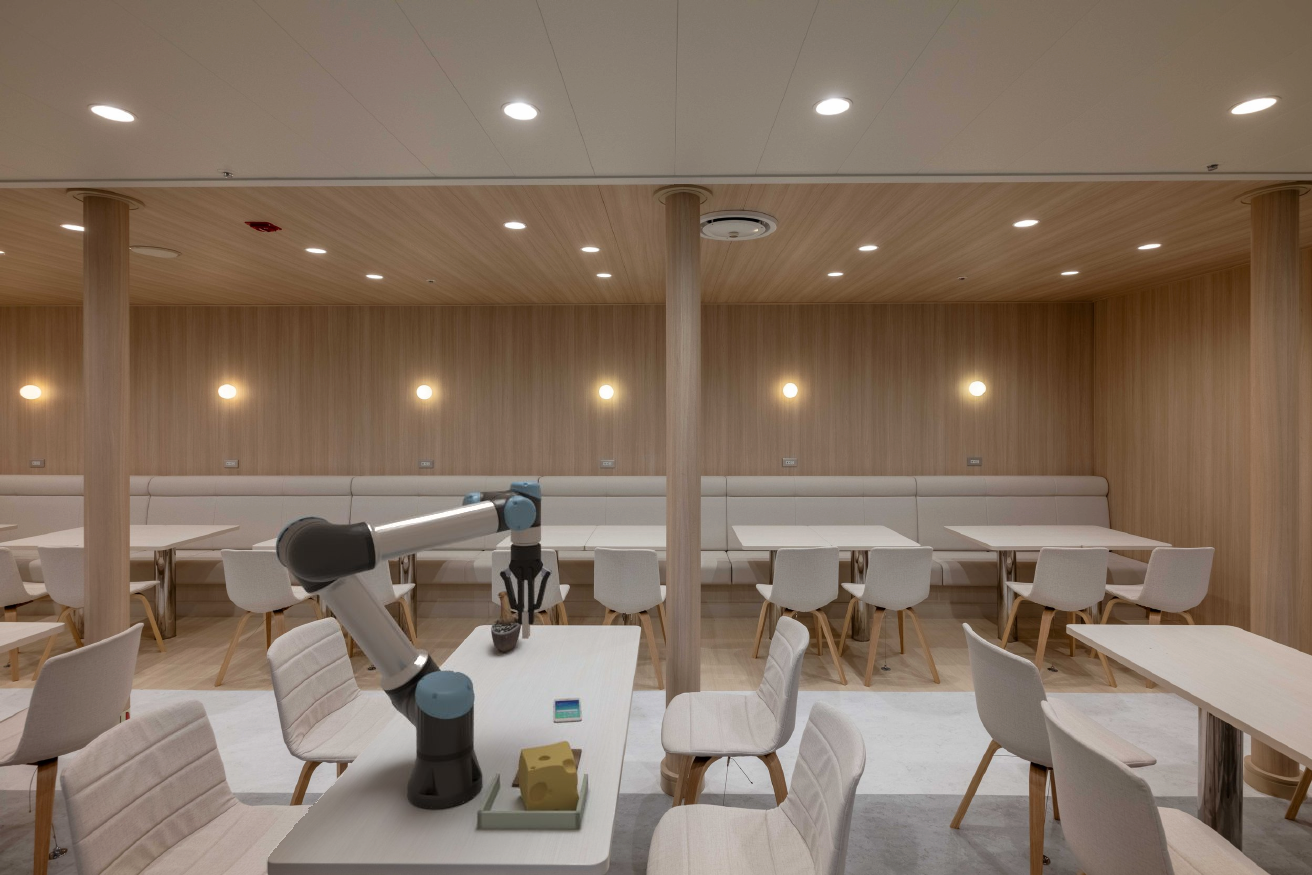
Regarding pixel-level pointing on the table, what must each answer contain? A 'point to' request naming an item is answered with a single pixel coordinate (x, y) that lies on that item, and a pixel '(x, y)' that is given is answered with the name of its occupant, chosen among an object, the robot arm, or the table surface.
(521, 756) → the cheese
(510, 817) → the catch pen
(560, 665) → the table surface
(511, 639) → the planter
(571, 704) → the smartphone
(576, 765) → the serving board
